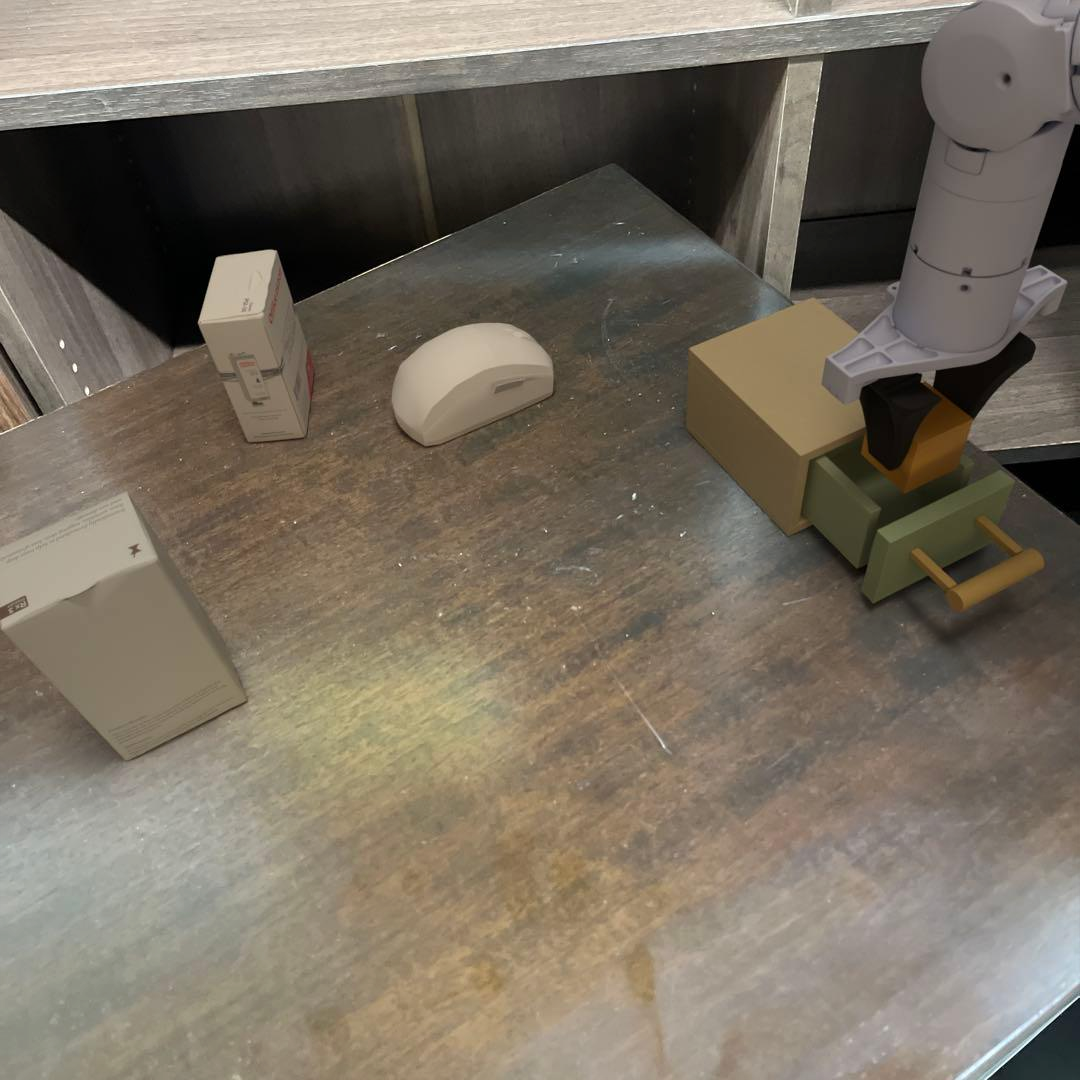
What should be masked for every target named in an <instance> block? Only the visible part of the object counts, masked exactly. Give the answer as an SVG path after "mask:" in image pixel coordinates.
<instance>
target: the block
mask: <svg viewBox="0 0 1080 1080" xmlns="http://www.w3.org/2000/svg"><path fill="white" fill-rule="evenodd" d="M921 383H923V384H924V385H925V386H926V387H928V388H929V389H930V390H931V391H933V392H934V393H935V394H937V395H938V396H939V397H940V398H942V399H943V400H942V401H940V402H939V403H938V404H937V405H936V406H935V407H934V408H933V409H932V410H931V411H930V412H929V413H928V414H927V415H926V417H925V418H924V420H923V421H922V423H921V424H920V426H919V428H918V429H917V431H916V433H915V436H914V438H913V441H912V443H911V446H910V449H909V451H908V453H907V455H906V457H905V459H904V461H903V462H902V464H901V465H900V466H899V468H897V469H895V470H893V471H888V470H887V469H886V468H885V467H884V466H883V465H881V464H880V463H879V462H878V461H877V460H876V459H875V458H874V457H873V456H871V455H870V454H869V453H868V443H867V433H866V432H865V437H864V441H863V446H862V450H861V454H862V455H863V456H864V457H865V458H866V459H867V460H868V461H869V462H870V463H871V464H873V465H874V466H875V467H876V468H877V469H878V470H879V471H880V472H881V473H882V474H884V475H885V476H886V477H887V478H888V479H889V480H890V481H891V482H892V483H893V484H895V485H896V486H897V487H898V488H899V489H900V490H901V491H902V492H903V493H907V492H909V491H911V490H913V489H915V488H917V487H920V486H922V485H924V484H926V483H928V482H930V481H932V480H934V479H936V478H938V477H940V476H942V475H944V474H947V473H949V472H951V471H953V470H955V469H957V468H958V465H959V462H960V459H961V456H962V453H963V452H964V449H965V446H966V443H967V440H968V437H969V434H970V432H971V428H972V426H973V422H974V420H973V418H972V417H970V416H969V415H968V414H966V413H965V412H964V411H963V410H961V409H960V408H959V407H958V406H956V405H955V404H954V403H953V402H951V401H950V400H949V399H947V398H946V397H945V396H944V395H942V394H941V393H940V392H939V391H937V390H936V389H935V388H934V387H933V385H931V384H930V383H929V382H927V381H926V380H924V381H921Z"/></svg>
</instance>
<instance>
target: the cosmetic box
mask: <svg viewBox="0 0 1080 1080" xmlns="http://www.w3.org/2000/svg"><path fill="white" fill-rule="evenodd" d="M0 630H1V631H2V633H3V634H4V635H5V636H6V637H7V638H8V639H9V641H11V642H12V643H13V644H14V645H15V646H16V647H17V648H18V649H19V650H20V652H21V653H22V654H23V655H24V656H25V657H26V658H27V659H28V660H29V661H30V662H31V663H32V664H33V665H34V666H35V667H36V668H37V670H39V671H40V672H41V673H42V674H43V676H45V678H47V680H48V681H49V682H50V683H51V684H52V685H53V686H54V687H55V688H56V690H58V692H59V693H60V694H61V695H62V696H63V697H64V698H65V699H66V700H67V701H68V702H69V703H70V704H71V705H72V706H73V707H74V708H75V710H77V712H79V713H80V714H81V715H82V716H83V718H85V720H86V721H87V722H88V723H89V724H90V726H92V727H93V728H94V729H95V730H96V731H97V732H98V733H99V734H100V735H101V737H102V738H104V740H105V741H106V742H107V743H108V744H109V745H110V746H111V747H112V748H113V750H115V751H116V753H118V754H119V755H120V757H121V758H122V759H123V760H124V761H125V762H128V761H130V760H133V759H134V758H135V759H136V758H137V757H139V756H141V755H142V754H144V753H147V752H149V751H150V750H152V749H154V748H156V747H158V746H161V745H162V744H163V743H166V742H167V741H170V740H172V739H174V738H176V737H177V736H180V735H182V734H184V733H186V732H188V731H190V730H192V729H194V728H195V727H198V726H200V725H202V724H203V723H206V722H208V721H209V720H212V719H213V718H215V717H217V716H219V715H221V714H223V713H225V712H227V711H229V710H231V709H232V708H235V707H236V706H239V705H241V704H243V703H245V702H247V701H248V696H247V693H246V689H245V688H244V686H243V683H242V680H241V679H240V678H241V677H240V676H239V674H238V671H237V668H236V666H235V664H234V662H233V660H232V657H231V655H230V653H229V650H228V648H227V646H226V642H225V641H224V638H223V636H222V634H221V633H220V631H219V629H218V628H217V626H216V625H215V623H214V621H213V620H212V618H211V617H210V615H209V614H208V612H207V610H206V609H205V608H204V606H203V604H202V603H201V602H200V600H199V598H198V597H197V595H196V594H195V592H194V591H193V590H192V588H191V586H190V585H189V583H188V582H187V580H186V578H185V577H184V576H183V574H182V572H181V571H180V569H179V568H178V566H177V564H176V563H175V561H174V560H173V558H172V557H171V555H170V554H169V552H168V550H167V548H166V547H165V546H164V544H163V543H162V541H161V540H160V537H158V535H157V534H156V532H155V530H154V529H153V527H152V526H151V524H150V522H149V520H148V519H147V518H146V516H145V515H144V514H143V512H142V510H141V508H139V506H138V504H137V503H136V501H135V500H134V498H133V497H132V496H131V494H130V493H129V492H128V491H123V492H122V493H119V494H117V495H114V496H111V497H110V498H108V499H106V500H103V501H101V502H99V503H96V504H95V505H92V506H90V507H88V508H86V509H84V510H82V511H80V512H79V511H78V512H77V513H75V514H73V515H70V516H68V517H66V518H64V519H61V520H59V521H56V522H55V523H52V524H50V525H48V526H46V527H43V528H41V529H39V530H37V531H35V532H32V533H30V534H28V535H26V536H23V537H21V538H19V539H16V540H14V541H12V542H10V543H8V544H5V545H3V546H0Z"/></svg>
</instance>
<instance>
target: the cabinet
mask: <svg viewBox="0 0 1080 1080" xmlns="http://www.w3.org/2000/svg"><path fill="white" fill-rule="evenodd" d="M859 333H860V332H858V331H857V330H856V329H855V328H854V327H852V326H851V325H850V324H848V323H847V322H846V321H844V320H843V319H842V318H840V316H838V315H837V314H836V313H835V312H833V311H832V310H831V309H830V308H828V307H827V306H825V304H823V303H822V302H820V301H819V300H818V299H817V298H815V297H814V296H812V297H810V298H808V299H805V300H803V301H800V302H798V303H796V304H793V305H791V306H788V307H786V308H784V309H781V310H778V311H776V312H774V313H771V314H769V315H766V316H763V317H761V318H758V319H756V320H754V321H751V322H749V323H747V324H744V325H742V326H740V327H737V328H734V329H732V330H730V331H727V332H725V333H723V334H722V333H721V334H720V335H718V336H715V337H713V338H710V339H708V340H705V341H703V342H700V343H698V344H696V345H695V344H694V345H693V346H690V347H689V348H688V354H687V355H688V358H687V359H688V360H687V361H688V362H687V385H686V412H685V413H686V415H685V421H686V422H685V429H686V431H687V432H688V433H689V434H690V435H691V436H692V437H693V438H694V439H695V440H696V441H697V442H698V443H699V445H701V446H702V447H703V449H704V450H706V452H707V453H708V454H709V455H710V456H711V457H712V458H713V459H714V460H715V461H716V462H717V463H718V464H719V465H720V466H721V468H722V469H723V470H724V471H725V472H726V473H727V474H728V475H729V476H730V477H731V478H732V480H734V481H735V482H736V483H737V485H738V486H740V488H741V489H742V490H743V491H744V492H745V493H746V494H747V495H748V496H749V497H750V498H751V499H752V500H753V501H754V502H755V503H756V505H757V506H758V507H759V508H760V509H761V510H762V511H763V512H764V513H765V514H766V515H767V516H768V517H769V518H770V520H772V521H773V523H774V524H776V526H778V528H779V529H780V530H781V531H782V532H783V534H784V535H786V536H787V537H790V536H792V535H794V534H796V533H798V532H800V531H803V530H805V529H807V528H808V527H811V526H814V525H813V524H812V523H811V522H810V521H809V520H808V519H807V518H806V517H805V515H804V514H803V513H802V512H801V507H802V501H803V495H804V489H805V484H806V478H807V472H808V466H809V460H811V459H813V458H815V457H818V456H820V455H822V454H824V453H826V452H829V451H831V450H833V449H835V448H837V447H839V446H842V445H844V444H846V443H848V442H850V441H853V440H855V439H857V438H859V437H861V436H863V435H865V432H866V426H865V419H864V415H863V410H862V406H861V403H860V400H859V399H858V400H855V401H853V402H851V403H849V404H847V405H844V404H843V403H842V402H841V401H839V400H838V399H837V398H835V397H834V396H833V395H832V394H831V393H830V392H829V391H828V390H827V389H826V388H825V387H823V386H822V385H821V383H822V377H823V371H824V365H825V359H826V356H828V355H830V354H832V353H834V352H836V351H838V350H840V349H842V348H843V347H845V346H846V345H847V344H848V343H849V342H851V341H852V340H853V339H854V338H855V337H856V336H857V335H858V334H859Z"/></svg>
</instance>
